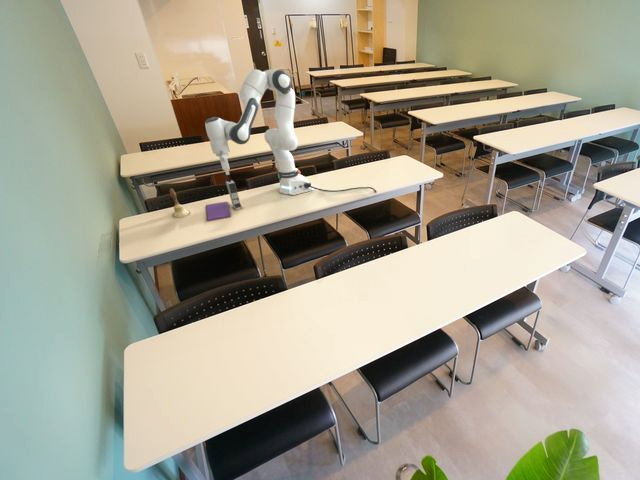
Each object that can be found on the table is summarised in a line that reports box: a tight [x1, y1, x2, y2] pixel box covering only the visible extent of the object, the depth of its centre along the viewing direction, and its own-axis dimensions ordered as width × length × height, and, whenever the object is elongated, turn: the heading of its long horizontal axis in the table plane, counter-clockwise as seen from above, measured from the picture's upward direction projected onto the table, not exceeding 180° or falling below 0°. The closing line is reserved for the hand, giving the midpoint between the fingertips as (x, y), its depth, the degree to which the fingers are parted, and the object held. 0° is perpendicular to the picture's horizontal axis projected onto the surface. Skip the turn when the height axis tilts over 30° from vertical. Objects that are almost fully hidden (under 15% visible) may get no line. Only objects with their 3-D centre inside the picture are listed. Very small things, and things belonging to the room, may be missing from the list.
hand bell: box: [169, 188, 190, 218], centre depth 198 cm, size 8×8×16 cm
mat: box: [206, 201, 231, 221], centre depth 206 cm, size 12×22×1 cm, turn 27°
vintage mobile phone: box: [225, 174, 243, 211], centre depth 203 cm, size 4×5×25 cm
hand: (227, 173), depth 197 cm, fingers open, 3 cm apart
